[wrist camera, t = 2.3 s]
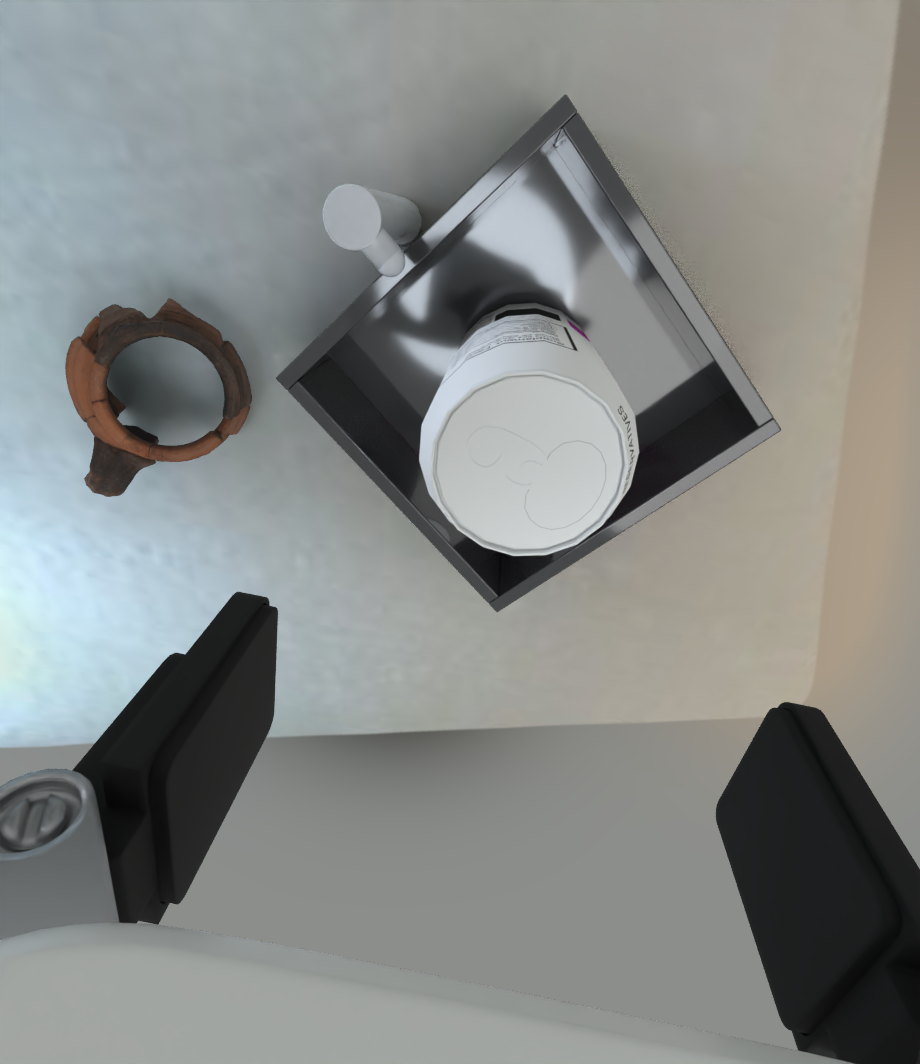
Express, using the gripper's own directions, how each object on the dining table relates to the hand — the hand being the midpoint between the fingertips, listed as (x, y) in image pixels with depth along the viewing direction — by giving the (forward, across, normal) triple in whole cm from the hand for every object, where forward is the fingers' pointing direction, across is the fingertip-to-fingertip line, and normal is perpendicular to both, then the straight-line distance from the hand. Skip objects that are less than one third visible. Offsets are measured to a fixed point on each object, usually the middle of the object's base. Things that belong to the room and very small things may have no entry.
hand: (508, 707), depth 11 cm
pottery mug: (+26, +21, +4) cm, 34 cm away
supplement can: (+27, 0, 0) cm, 27 cm away
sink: (+26, +1, -1) cm, 26 cm away
